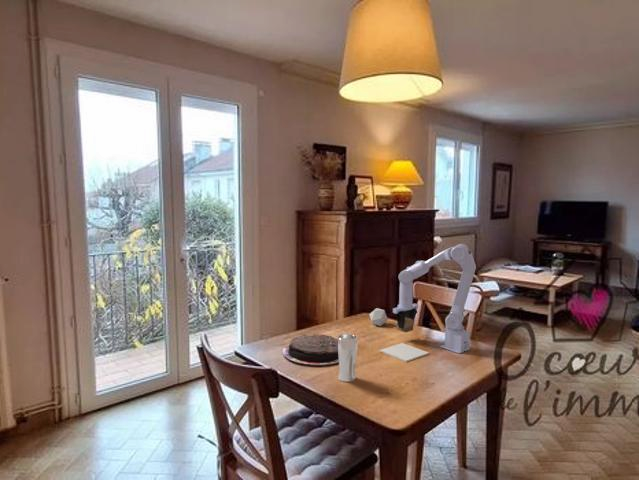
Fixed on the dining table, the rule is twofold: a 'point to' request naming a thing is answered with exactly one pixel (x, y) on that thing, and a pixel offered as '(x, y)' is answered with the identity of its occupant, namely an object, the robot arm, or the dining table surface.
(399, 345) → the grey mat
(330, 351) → the chocolate cake
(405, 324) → the walnut cube
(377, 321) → the die
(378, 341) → the dining table surface
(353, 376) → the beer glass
